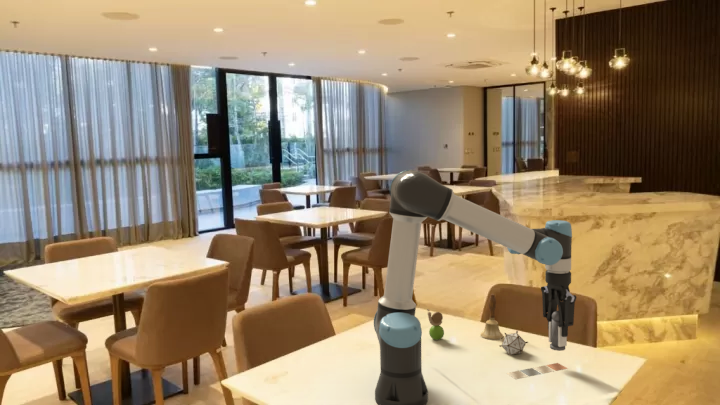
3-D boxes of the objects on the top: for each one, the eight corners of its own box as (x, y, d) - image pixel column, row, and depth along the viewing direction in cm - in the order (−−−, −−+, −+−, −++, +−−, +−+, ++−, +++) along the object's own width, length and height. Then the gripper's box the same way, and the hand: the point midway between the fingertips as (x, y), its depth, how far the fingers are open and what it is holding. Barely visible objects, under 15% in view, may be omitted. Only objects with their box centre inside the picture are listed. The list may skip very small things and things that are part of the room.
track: (515, 384, 161) (515, 381, 161) (501, 375, 168) (501, 372, 168) (572, 372, 168) (572, 369, 168) (556, 364, 175) (556, 361, 175)
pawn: (556, 351, 167) (556, 313, 166) (546, 346, 171) (546, 309, 170) (568, 349, 168) (569, 311, 167) (558, 344, 173) (558, 307, 171)
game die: (518, 367, 182) (530, 351, 176) (494, 357, 183) (505, 341, 177) (521, 346, 189) (532, 330, 182) (498, 337, 190) (508, 321, 183)
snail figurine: (424, 338, 200) (423, 307, 199) (438, 335, 203) (438, 304, 202) (432, 343, 196) (431, 311, 194) (447, 340, 198) (446, 308, 197)
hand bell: (501, 332, 205) (502, 291, 204) (504, 340, 197) (504, 297, 196) (479, 331, 207) (479, 291, 205) (481, 339, 198) (481, 297, 197)
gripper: (587, 275, 161) (586, 350, 163) (549, 263, 176) (549, 333, 179) (567, 277, 158) (566, 354, 161) (530, 266, 174) (530, 336, 176)
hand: (557, 343), depth 170 cm, fingers closed on pawn, 3 cm apart
